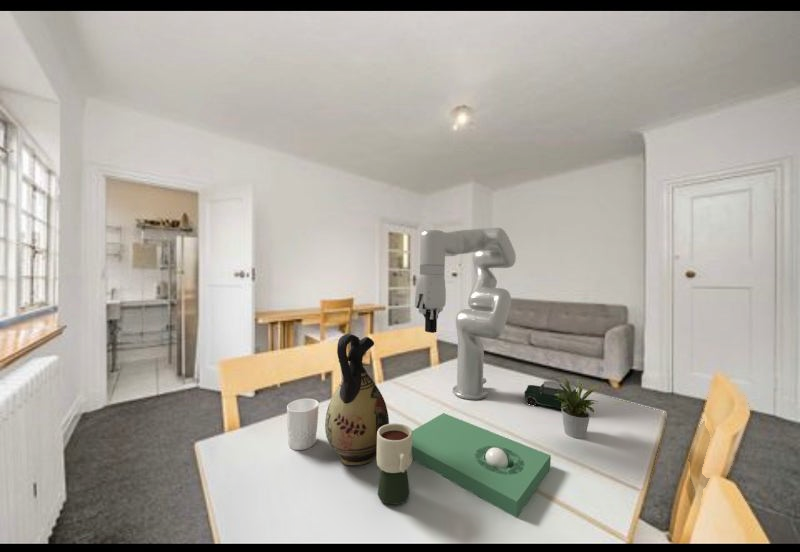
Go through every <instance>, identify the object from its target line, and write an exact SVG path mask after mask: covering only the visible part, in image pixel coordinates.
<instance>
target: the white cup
mask: <svg viewBox="0 0 800 552" xmlns="http://www.w3.org/2000/svg"><path fill="white" fill-rule="evenodd" d="M319 403H320V402H319V401H318V400H316V399H313V398H299V399H295V400H293V401H291V402H289V403H288V404H287V405H286V420H287V421H286V422H287V436H288V437H287V439H288V446H289V448H290V449H291V450H293V451H302V450H307V449H310V448H312V447H313V446H314V445H315V444H316V441H317V432H318V425H319V424H318V423H319V422H318V420H319V408H320V407H319V406H320V404H319Z"/></svg>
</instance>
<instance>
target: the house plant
mask: <svg viewBox="0 0 800 552" xmlns="http://www.w3.org/2000/svg"><path fill="white" fill-rule="evenodd" d="M547 376H548V377H550V375H547ZM552 378H553V379H554V380H556V382H559V384H560V383H561V382H560V381H559V380H558V379H557V378H556V377H554V376H552ZM580 378H581V377H578V379H577V381H576V385H575V387H574V388H575V392H573V394H572V391H571V388H570V385H571V384H570V383H569V382H570V381H569V380H568V379H567V378H566V377H565V376H563V377H561V379H562V381H563V383H564V384H565V386H566V387H567V389H568V391H567V390H566V389H565V388H564V387H563V386H562V385H561V384H560V386H561V387H562V388H563V390H564V392H565V393H566V395H567V397H568V399H569V401H570V403H569V402H568V400H567V398H566V397H565V395H564V393H563V392H562V391H561V389H559V388H558V387H557V388H558V389H559V390H560V391H561V392H562V394H563V395H564V396H562V395H561V394H555V396H558V397H557V398H560V399H563V400H564V401H565V402H562V401H561V402H562V404H561V407H563V406H566V405H567V406H568V407H567V406H566V407H563V408H562V409H561V415H562V421H563V423H562V424H563V430H564V433H565V434H566V435H567V436H569V437H570V438H573V439H579V440H582V439H583V440H584V439H585V438H586V436H587V431H588V427H589V423H590V418H591V414H590V413H589V412H588V411H587V409H588V410H590V412H591V413H592V414H593V415H595V414H594V413H595V409H594V408H593V407H592V406H591V405H594V404H598V403H599V401H598V400H596V402H597V403H596V402H595V400H593V399H587V397H589V395H591V394H592V393H595V390H596V389H597V388H598V387H601V386H602V384H599V385H595V386H592V387H590V389H588V390H586V392H584V394H583V395H582V393H583V389H584V388H583V386H585V385H586V383H584V384H583V381H582V380H581V382H580V384H579V388H578V383H579V381H580ZM556 385H558V384H556ZM552 387H554V386H552ZM577 388H578V389H577ZM568 392H569V393H568ZM580 397H581V400H580ZM556 400H558V399H556ZM579 400H580V401H579ZM578 402H579V403H578Z"/></svg>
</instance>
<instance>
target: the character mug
mask: <svg viewBox="0 0 800 552" xmlns="http://www.w3.org/2000/svg"><path fill="white" fill-rule="evenodd" d="M412 431H413V430H412V429H411V428H410V427H409V426H407V425H405V424H401V423H389V424H387V425H383V426H382V427H380V428H379V429H378V431H377V457H376V466H377V467H378V468H379V470H380V475H379V480H378V487H377V488H378V489H377V496H378V499H379V500H380V501H382V502H383V503H384V504H391V505H394V504H401V503H406V501H407V500H408V499H409V497H410V496H409V495H410V486H409V485H410V483H409V478H408V477H409V475H408V468H409V467H410V466H411V465H412V461H413V459H412V450H411V447H412V444H413V443H412Z"/></svg>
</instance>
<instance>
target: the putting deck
mask: <svg viewBox="0 0 800 552" xmlns="http://www.w3.org/2000/svg"><path fill="white" fill-rule="evenodd" d="M412 443H413V444H412V447H411V450H412V460H413V461H416V462H417V463H419V464H421V465H423V466H424V467H426V468H427V469H429V470H431V471H432V472H435V473H437V474H439V475H440V476H442V477H443V478H446V479H447V480H449V481H450V482H452V483H454V484H456V485H457V486H460V487H461V488H463V489H465V490H467V491H468V492H470V493H472V494H474V495H475V496H477V497H479V498H481V499H483V500H484V501H485V502H488V503H490V505H493V506H495V507H497V508H498V509H501V510H502V511H504V512H506V514H509V515H511V516H512V517H514V518H515V519H516V518H518V516H519V515H520V513H521V512H522V511H523V509H524V508H525V506H526V505H527V503H528V502H529V500H530V499H531V497H532V496H533V495H534V493H535V491H536V490H537V489H538V487H539V485H540V484H541V482H542V481H543V480H544V479H545V477H546V476H547V474H548V472H549V471H550V470H551V459H552V457H551V456H552V455H551V454H548V453H546V452H543V451H541V450H537V449H536V448H534V447H531V446H528V445H525V444H523V443H522V442H518V441H515V440H513V439H510V438H508V437H506V436H503V435H500V434H498V433H495V432H493V431H490V430H488V429H485V428H482V427H480V426H477V425H474V424H472V423H470V422H469V421H464V420H463V419H459V418H457V417H455V416H452V415H449V414H447V413H444V412H443V413H442V414H439V415H437V416H436V417H434V418H432V419H430V420H429V421H427V422H425V423H423V424H422V425H420V426H418V427H417V428H414V429H413V430H412ZM494 447H496V448H499V449H501V450H503V451H504V452H505V454H506V456H507V458H508V466H507V468H506V469H502V468H496V467H494V466H492V465H490V464H488V462H487V461H486V460H485V455H486V453H487V451H488V450H489V449H490V448H494Z"/></svg>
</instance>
